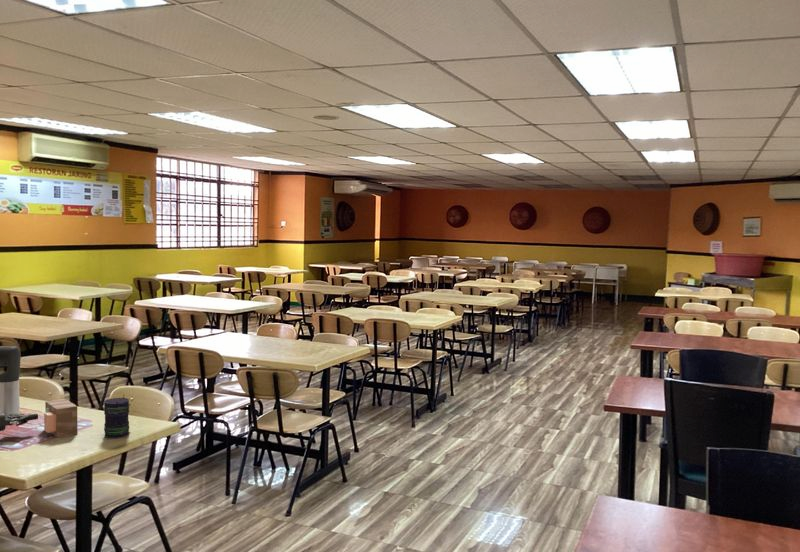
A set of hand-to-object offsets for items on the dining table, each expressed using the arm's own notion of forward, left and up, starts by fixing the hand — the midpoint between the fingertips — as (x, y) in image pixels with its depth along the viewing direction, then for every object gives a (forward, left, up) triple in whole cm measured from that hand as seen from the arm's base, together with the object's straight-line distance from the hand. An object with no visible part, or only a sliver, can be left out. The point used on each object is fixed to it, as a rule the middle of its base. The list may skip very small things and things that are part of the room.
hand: (37, 416), depth 277 cm
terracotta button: (+10, +4, -5) cm, 11 cm away
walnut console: (+5, +8, -7) cm, 12 cm away
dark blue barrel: (+26, +24, -7) cm, 36 cm away
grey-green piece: (0, +7, -5) cm, 8 cm away
